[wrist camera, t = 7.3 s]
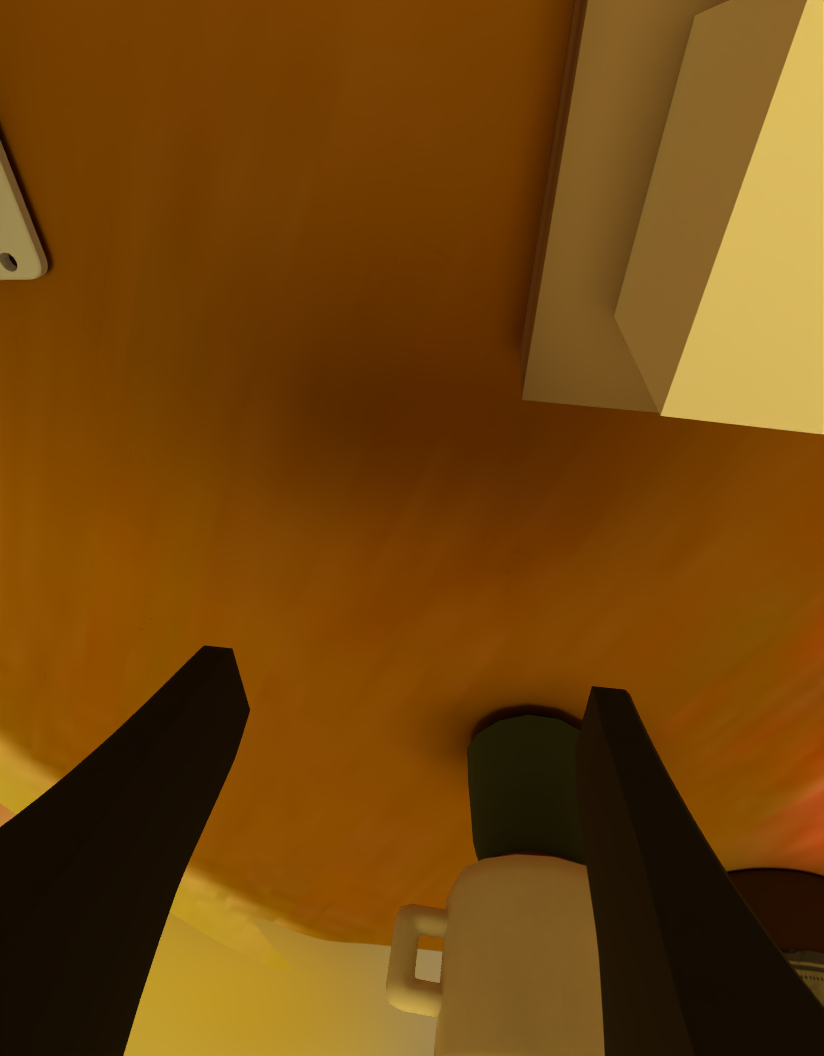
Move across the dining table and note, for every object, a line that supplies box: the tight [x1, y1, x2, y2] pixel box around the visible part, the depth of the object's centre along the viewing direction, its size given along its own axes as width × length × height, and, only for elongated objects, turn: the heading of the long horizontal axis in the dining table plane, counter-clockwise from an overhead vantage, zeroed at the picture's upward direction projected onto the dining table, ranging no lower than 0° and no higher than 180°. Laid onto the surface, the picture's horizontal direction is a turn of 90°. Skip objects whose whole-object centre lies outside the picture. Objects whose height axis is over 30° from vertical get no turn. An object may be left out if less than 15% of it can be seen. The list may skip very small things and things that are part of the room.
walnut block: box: [520, 0, 728, 413], centre depth 13 cm, size 9×9×4 cm
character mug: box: [386, 715, 605, 1056], centre depth 23 cm, size 11×7×13 cm, turn 88°
